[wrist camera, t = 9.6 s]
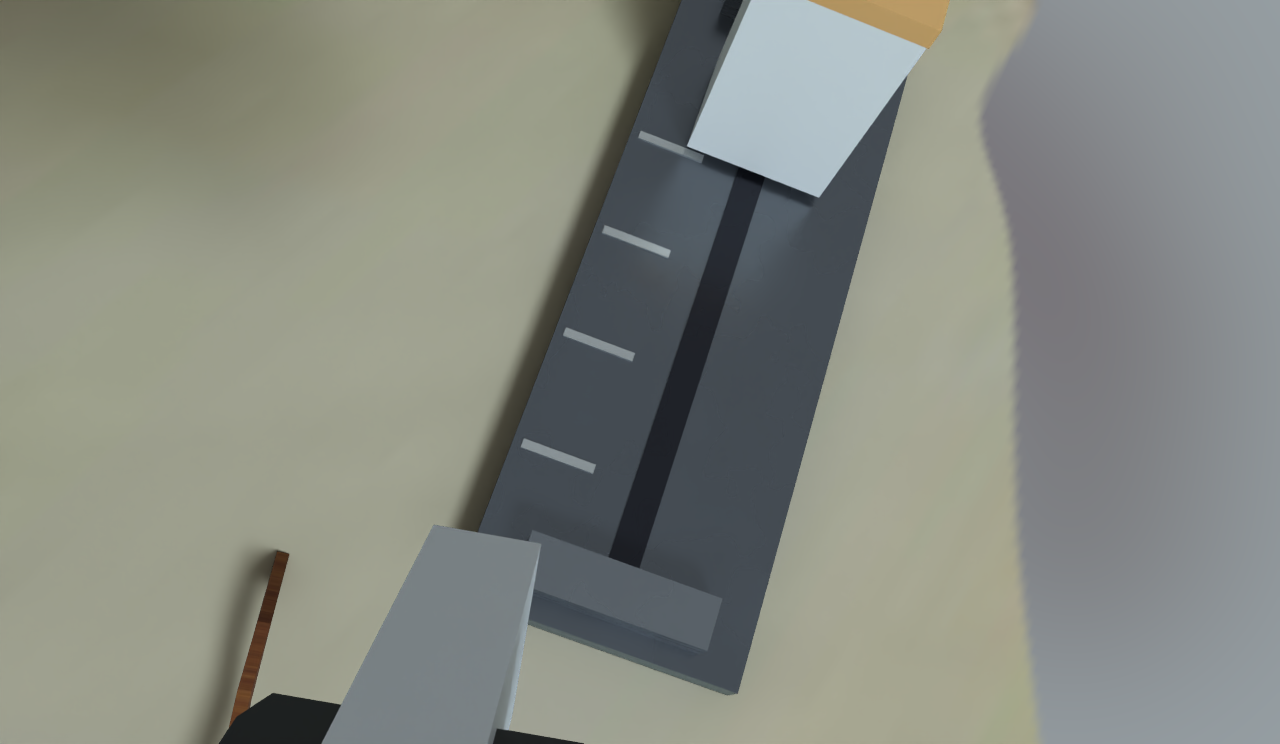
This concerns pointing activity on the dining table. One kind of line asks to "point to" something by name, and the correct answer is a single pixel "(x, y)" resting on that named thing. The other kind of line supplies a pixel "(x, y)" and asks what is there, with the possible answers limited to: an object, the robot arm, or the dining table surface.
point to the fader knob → (809, 82)
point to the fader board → (682, 384)
